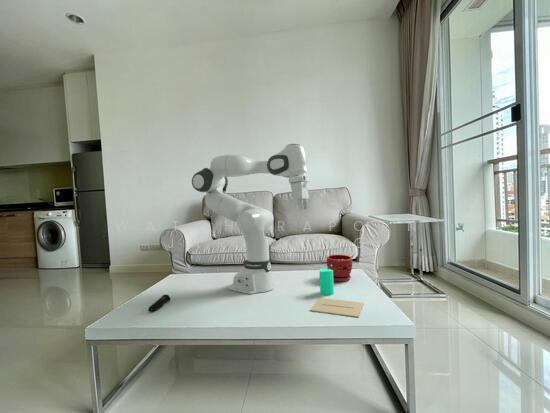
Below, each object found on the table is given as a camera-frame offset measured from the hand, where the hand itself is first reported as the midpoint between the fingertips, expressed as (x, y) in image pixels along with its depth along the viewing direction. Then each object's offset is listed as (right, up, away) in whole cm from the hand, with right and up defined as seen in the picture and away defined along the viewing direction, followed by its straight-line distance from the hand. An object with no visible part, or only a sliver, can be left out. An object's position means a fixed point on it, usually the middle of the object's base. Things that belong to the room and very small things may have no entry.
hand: (303, 209), depth 126 cm
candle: (+11, -38, 0) cm, 39 cm away
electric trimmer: (-62, -41, -7) cm, 75 cm away
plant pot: (+21, -37, +20) cm, 47 cm away
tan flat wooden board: (+11, -38, -17) cm, 43 cm away
